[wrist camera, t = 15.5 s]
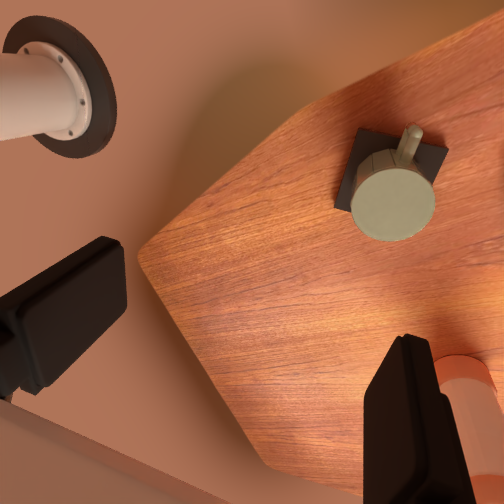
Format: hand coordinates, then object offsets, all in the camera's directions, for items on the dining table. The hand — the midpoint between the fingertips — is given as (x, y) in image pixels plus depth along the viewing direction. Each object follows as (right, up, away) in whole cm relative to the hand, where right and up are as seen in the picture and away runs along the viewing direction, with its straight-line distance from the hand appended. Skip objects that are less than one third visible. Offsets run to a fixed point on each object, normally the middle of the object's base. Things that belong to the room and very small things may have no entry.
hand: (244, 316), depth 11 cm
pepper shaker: (+29, -15, +34) cm, 48 cm away
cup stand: (+15, +10, +25) cm, 31 cm away
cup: (+15, +11, +23) cm, 30 cm away
